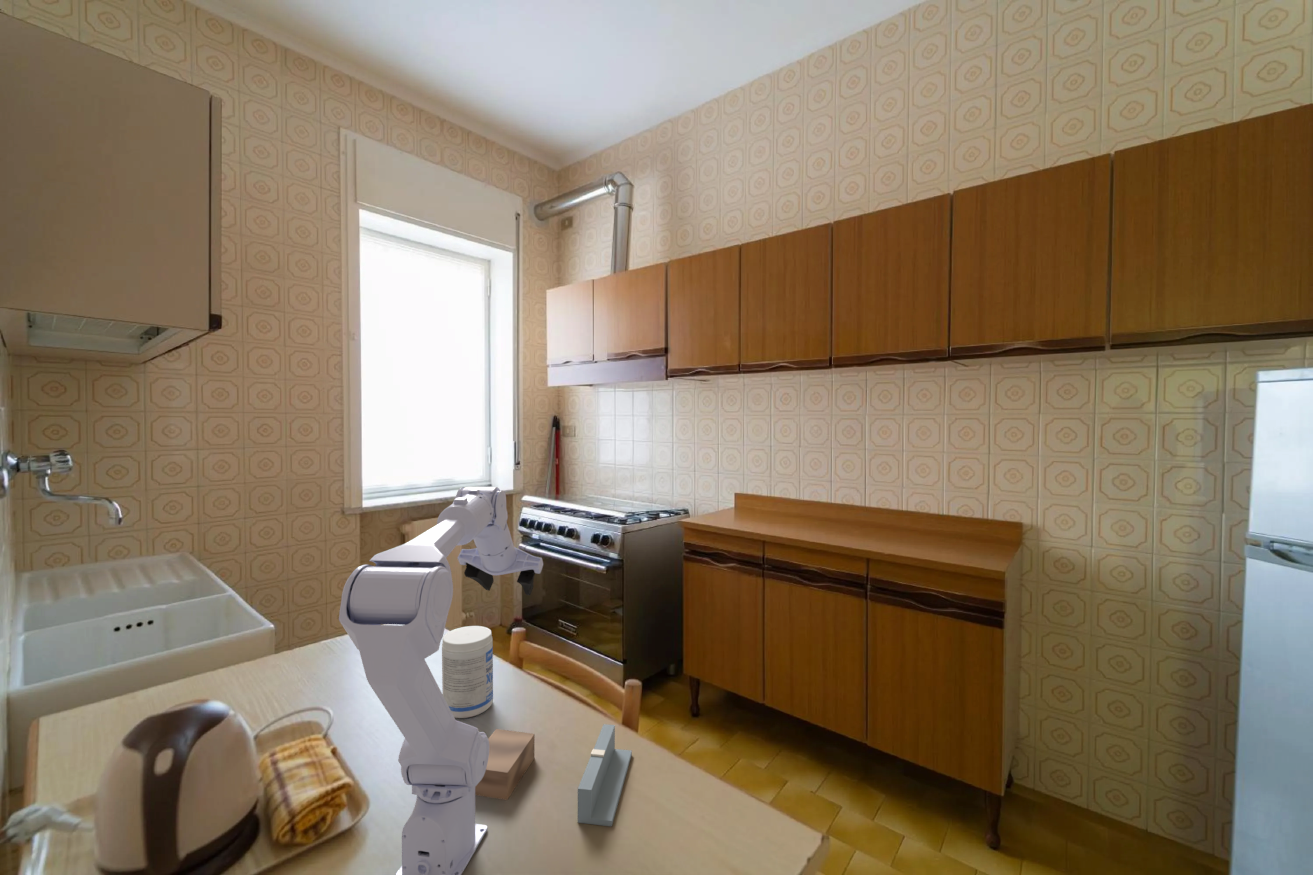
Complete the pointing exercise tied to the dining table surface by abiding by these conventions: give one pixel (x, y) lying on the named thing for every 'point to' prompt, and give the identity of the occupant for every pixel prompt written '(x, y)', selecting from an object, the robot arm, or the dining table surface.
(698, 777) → the dining table surface
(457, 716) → the supplement tub
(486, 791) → the walnut block
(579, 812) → the board
